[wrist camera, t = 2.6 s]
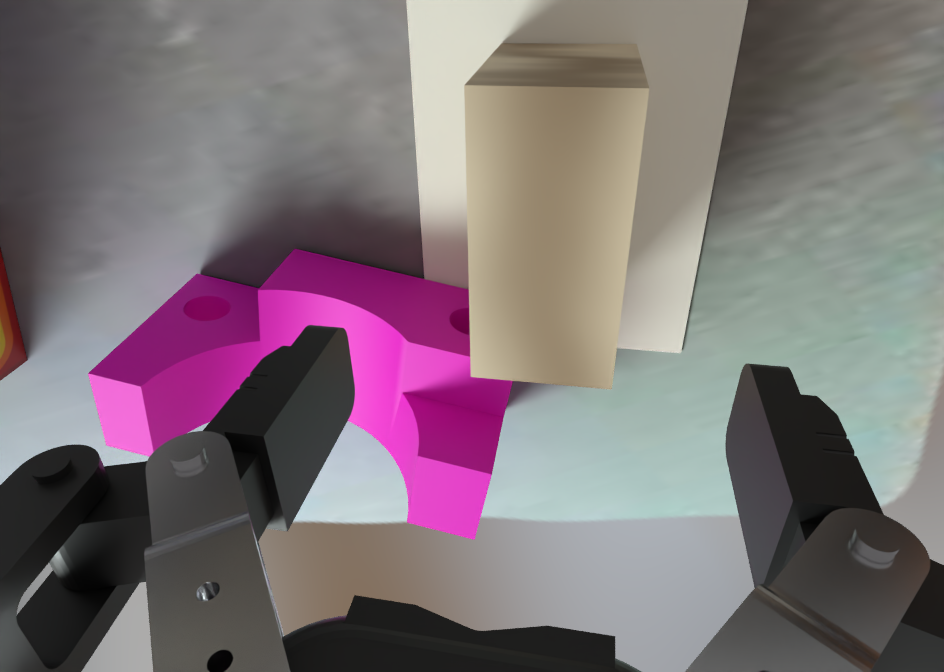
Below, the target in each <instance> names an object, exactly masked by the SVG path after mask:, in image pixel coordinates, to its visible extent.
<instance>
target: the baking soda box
mask: <svg viewBox="0 0 944 672" xmlns="http://www.w3.org/2000/svg"><path fill="white" fill-rule="evenodd" d="M26 361H27V356H26V352H25V348H24V344H23V340H22V336H21V332H20V327H19V323H18V319H17V315H16V311H15V307H14V303H13V298H12V294H11V290H10V286H9V282H8V278H7V274H6V269H5V265H4V261H3V257H2V253H1V249H0V380H2V379H3V378H4V377H6V376H7V375H8V374H10V373H11V372H12V371H14V370H15V369H16V368H18V367H19V366H20V365H22V364H23V363H24V362H26Z"/></svg>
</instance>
